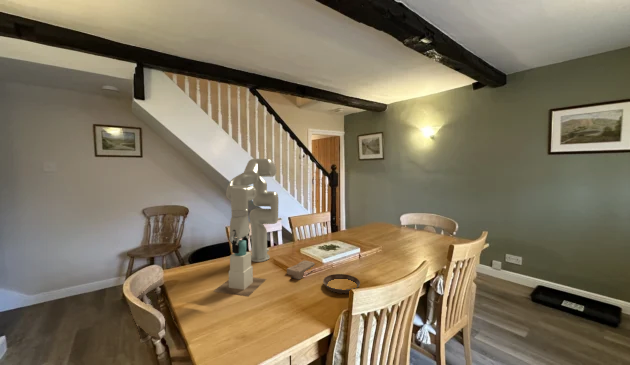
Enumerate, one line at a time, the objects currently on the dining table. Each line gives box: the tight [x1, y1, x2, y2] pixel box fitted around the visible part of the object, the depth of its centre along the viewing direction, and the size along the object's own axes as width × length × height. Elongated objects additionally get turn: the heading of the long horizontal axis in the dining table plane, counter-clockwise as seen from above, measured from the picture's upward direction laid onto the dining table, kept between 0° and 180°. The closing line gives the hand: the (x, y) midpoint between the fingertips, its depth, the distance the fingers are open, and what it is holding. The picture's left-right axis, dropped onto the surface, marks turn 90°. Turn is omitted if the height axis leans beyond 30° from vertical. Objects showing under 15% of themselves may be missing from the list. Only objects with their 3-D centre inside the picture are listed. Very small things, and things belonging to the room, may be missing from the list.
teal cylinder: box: [235, 239, 247, 256], centre depth 122 cm, size 5×5×6 cm
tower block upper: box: [229, 251, 252, 272], centre depth 122 cm, size 7×7×7 cm
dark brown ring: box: [322, 273, 361, 294], centre depth 124 cm, size 18×18×3 cm
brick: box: [286, 259, 316, 280], centre depth 140 cm, size 17×8×5 cm, turn 149°
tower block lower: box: [228, 265, 254, 290], centre depth 122 cm, size 8×8×8 cm
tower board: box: [213, 276, 267, 298], centre depth 123 cm, size 18×18×2 cm
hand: (240, 250), depth 122 cm, fingers open, 7 cm apart
